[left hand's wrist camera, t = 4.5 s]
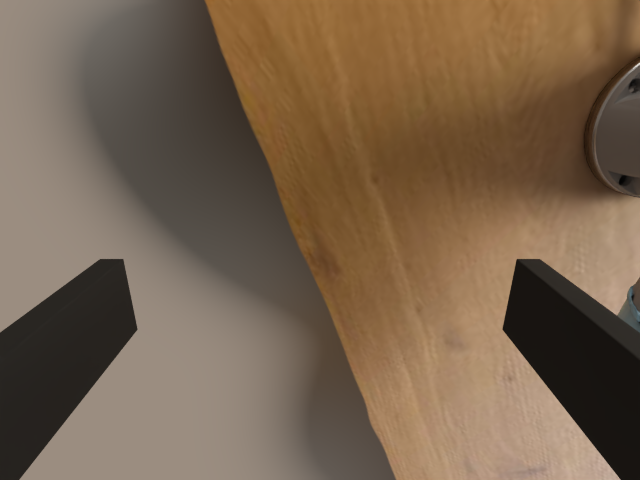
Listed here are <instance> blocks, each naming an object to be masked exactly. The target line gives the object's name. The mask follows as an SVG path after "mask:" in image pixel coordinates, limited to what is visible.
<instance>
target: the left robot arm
mask: <svg viewBox="0 0 640 480" xmlns="http://www.w3.org/2000/svg"><path fill="white" fill-rule="evenodd" d="M584 145H585V154H586V158H587V161H588V164H589V166H590V169H591V170H592V172H593V174H594V175H595V176H596V177H597V179H598V180H599V181H601V182H602V183H603V184H604V185H606V186H607V187H609V188H611V189H613V190H615V191H617V192H621V193H624V194H627V195H630V196H634V197H639V198H640V57H639V58H637V59H636V60H634V61H633V62H631V63H630V64H628V65H627V66H626V67H624V68H623V69H622V70H621V71H620V72H619V73H617V74H616V75H615V76H614V78H613V79H612V80H611V81H610V82H609V83H608V84H607V85H606V87H605V88H604V89H603V91H602V92H601V94H600V95H599V97H598V98H597V100H596V102H595V104H594V106H593V108H592V110H591V113H590V115H589V118H588V121H587V125H586V130H585V142H584ZM136 331H137V325H136V320H135V315H134V310H133V305H132V300H131V295H130V290H129V285H128V280H127V275H126V271H125V266H124V261H123V259H100V260H98V261H97V262H96V263H94V264H93V265H92V266H90V267H89V268H88V269H86V270H85V271H83V272H82V273H81V274H79V275H78V276H77V277H75V278H74V279H73V280H71V281H70V282H68V283H67V284H66V285H64V286H63V287H62V288H60V289H59V290H58V291H56V292H55V293H53V294H52V295H51V296H49V297H48V298H47V299H45V300H44V301H43V302H41V303H40V304H39V305H37V306H36V307H34V308H33V309H32V310H30V311H29V312H28V313H26V314H25V315H24V316H22V317H21V318H20V319H18V320H17V321H15V322H14V323H13V324H11V325H10V326H9V327H7V328H6V329H4V330H3V331H2V332H0V480H19V479H20V478H21V477H22V475H23V474H24V473H25V472H26V470H27V469H28V468H29V467H30V465H31V464H32V463H33V461H34V460H35V459H36V458H37V456H38V455H39V454H40V453H41V451H42V450H43V449H44V447H45V446H46V445H47V444H48V442H49V441H50V440H51V439H52V437H53V436H54V435H55V434H56V432H57V431H58V430H59V428H60V427H61V426H62V425H63V423H64V422H65V421H66V420H67V418H68V417H69V416H70V414H71V413H72V412H73V411H74V409H75V408H76V407H77V406H78V404H79V403H80V402H81V400H82V399H83V398H84V397H85V395H86V394H87V393H88V392H89V390H90V389H91V388H92V387H93V385H94V384H95V383H96V381H97V380H98V379H99V378H100V376H101V375H102V374H103V373H104V371H105V370H106V369H107V368H108V366H109V365H110V364H111V362H112V361H113V360H114V359H115V357H116V356H117V355H118V354H119V352H120V351H121V350H122V348H123V347H124V346H125V345H126V343H127V342H128V341H129V340H130V338H131V337H132V336H133V334H134V333H135V332H136ZM503 331H504V332H505V333H506V334H507V336H508V337H509V338H510V340H511V341H512V342H513V343H514V345H515V346H516V347H517V348H518V350H519V351H520V352H521V354H522V355H523V356H524V357H525V359H526V360H527V361H528V362H529V364H530V365H531V366H532V368H533V369H534V370H535V371H536V373H537V374H538V375H539V376H540V378H541V379H542V380H543V381H544V383H545V384H546V385H547V387H548V388H549V389H550V390H551V392H552V393H553V394H554V395H555V397H556V398H557V399H558V401H559V402H560V403H561V404H562V406H563V407H564V408H565V409H566V411H567V412H568V413H569V414H570V416H571V417H572V418H573V420H574V421H575V422H576V423H577V425H578V426H579V427H580V428H581V430H582V431H583V432H584V434H585V435H586V436H587V437H588V439H589V440H590V441H591V442H592V444H593V445H594V446H595V448H596V449H597V450H598V451H599V453H600V454H601V455H602V456H603V458H604V459H605V460H606V461H607V463H608V464H609V465H610V467H611V468H612V469H613V470H614V472H615V473H616V474H617V475H618V477H619V478H620V479H621V480H640V278H639V279H638V281H637V282H636V284H634V285H633V286H632V287H630V289H629V291H628V294H627V300H626V301H625V303H624V305H623V307H622V308H621V310H620V312H619V314H618V315H617V316H616V315H615V314H614V313H612V312H611V311H610V310H608V309H607V308H606V307H604V306H603V305H601V304H600V303H599V302H597V301H596V300H595V299H593V298H592V297H591V296H589V295H588V294H587V293H585V292H584V291H582V290H581V289H580V288H578V287H577V286H576V285H574V284H573V283H572V282H570V281H569V280H567V279H566V278H565V277H563V276H562V275H561V274H559V273H558V272H557V271H555V270H554V269H552V268H551V267H550V266H548V265H547V264H546V263H544V262H543V261H542V260H540V259H517V261H516V266H515V271H514V275H513V280H512V285H511V290H510V295H509V300H508V305H507V310H506V315H505V320H504V325H503Z"/></svg>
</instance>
